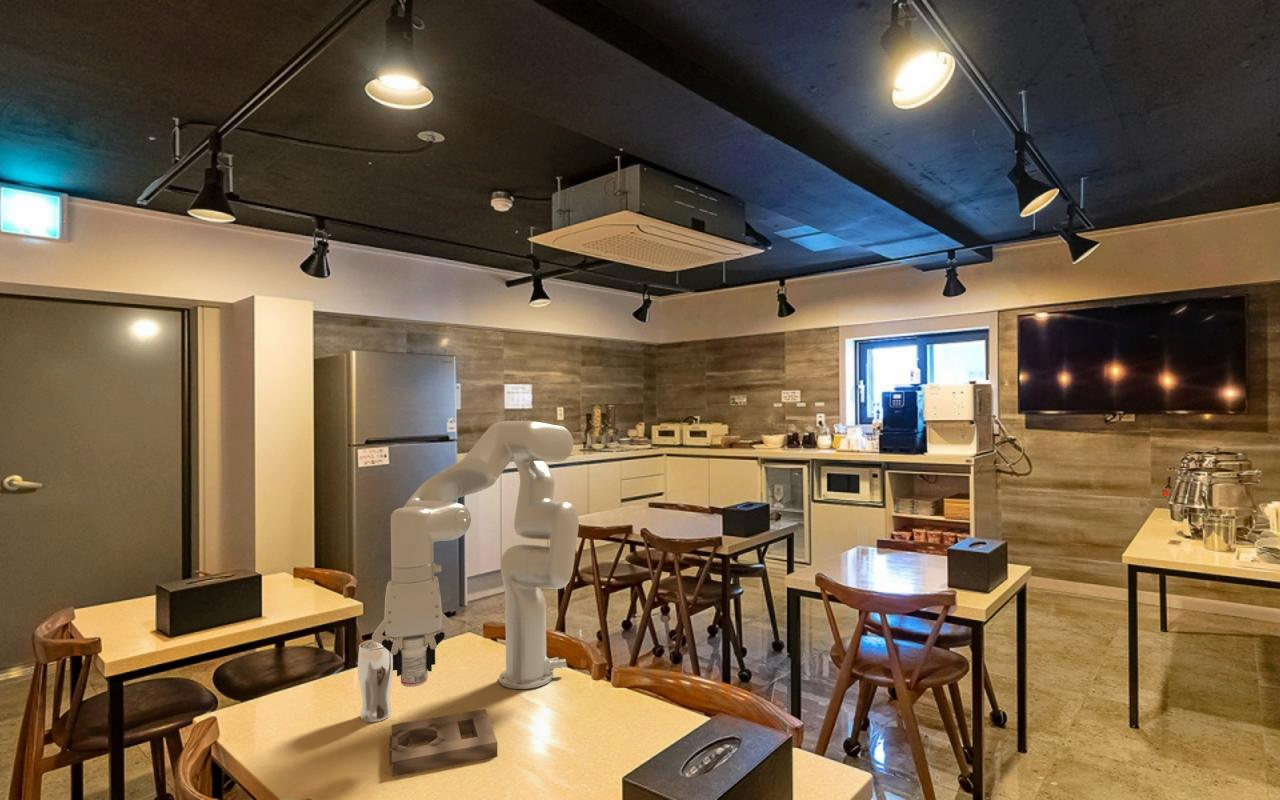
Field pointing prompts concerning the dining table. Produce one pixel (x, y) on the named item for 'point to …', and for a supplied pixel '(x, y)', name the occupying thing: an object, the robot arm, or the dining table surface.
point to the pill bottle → (413, 661)
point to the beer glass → (375, 681)
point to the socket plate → (441, 742)
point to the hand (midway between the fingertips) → (414, 670)
